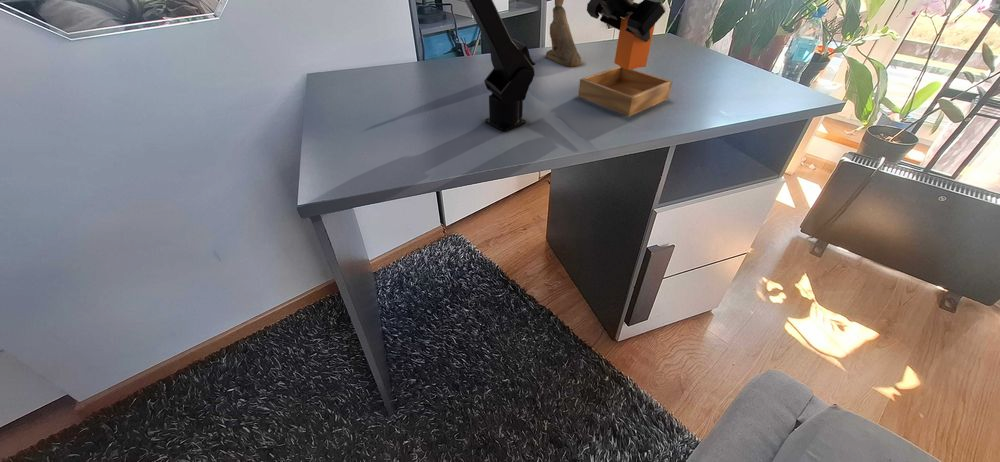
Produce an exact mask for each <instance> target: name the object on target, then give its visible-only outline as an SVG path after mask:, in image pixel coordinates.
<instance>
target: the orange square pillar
mask: <svg viewBox="0 0 1000 462" xmlns="http://www.w3.org/2000/svg"><path fill="white" fill-rule="evenodd" d="M629 17H630V16H629V15H628V17H627V18H626V19H623V18H622V19H621V25H620V30H618V31H619V32H618V37H617V43H616V50H615V57H614V62H613V63H614V64H615V65H617V66H621V67H623V68H625V69H627V70H630V69H634V70H636V69H641V68H646V67H647V63H648V59H649V55H650V49H651V45H652V41H653V37H654V36H653V35H654V31H655V27H656V26H655V25H656V23H655V24H654V26H653V27H652V28H651V29H650V39H649V40H648V41H647V42H645V41H643V40H642V39H640V38H638V37H636V36H634V35H632V34H631V33H629V32H627V31H625V30H626V29H627V27H628V26H627V23H628V18H629Z"/></svg>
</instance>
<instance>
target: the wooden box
mask: <svg viewBox="0 0 1000 462" xmlns="http://www.w3.org/2000/svg"><path fill="white" fill-rule="evenodd" d="M578 86H579V87H578V98H581V99H584V100H586V101H589V102H591V103H594V104H597V105H598V106H602V107H604V108H606V109H608V110H612V111H614V112H616V113H619V114H622V115H624V116H627V117H631V116H633V115H635V114H637V113H640V112H642V111H644V110H646V109H649V108H651V107H654V106H656V105H658V104H660V103H662V102H665V101H668V100H669V97H670V93H671V90H672V86H673V81H672V80H669V79H666V78H663V77H659V76H656V75H653V74H649V73H647V72H643V71H640V70H637V69H630V70H627V69H625V68H623V67H621V66H619V65H617V66H615V67H612V68H608V69H606V70H602V71H601V72H597V73H594V74H591V75H588V76H585V77H581V78H580V79H579V85H578Z"/></svg>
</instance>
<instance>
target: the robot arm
mask: <svg viewBox="0 0 1000 462" xmlns="http://www.w3.org/2000/svg"><path fill="white" fill-rule="evenodd" d="M464 2H465V4H466V6H467V8H468V9H469V11H470V13H471V15H472V17H473V19H474V21H475V23H476V24H477V26H478V28H479V31H480V32H481V35H482V36H483V38H484V40H485V42H486V44H487V46H488V48H489V53H490V60H491V65H492V67H493V68H492V70H491V71H490V72H489V74H488V75H487V76H486V77H485V79H484V80H483V82H484V84H485V87H486V90H488V91H490V92H491V94H490V95H488V111H489V112H488V114H489V117H488V118H485V119H484V122H485V123H486V124H488V125H490V126H492V127H494V128H495V129H497V130H499V131H500V132H507V131H509V130H512V129H515V128H517V127H520V126H523V125H526V123H527V120H526V119H524V118H523V110H524V109H523V107H524V105H523V104H524V101H525V100H526V97H527V95H528V91H529V89H530V85H532V82H533V81H534V77H535V75H536V73H535V68H534V66H536V63H535V61H534V60H533V59H532V57H531V55H530V50H529V49H528V46H527V45H525V44H524V43H521V42H520V41H518V40H517V39H514V38H512V37H511V36H510V34H509V31H508V29H507V27H506V25H505V23H504V21H503V19H502V17H501V15H500V13H499V11H498V8H497V7H496V5H495V2H494V1H493V0H464ZM586 12H587V13H588V15H589V16H590V17H591V18H594V19H597V20H599V21H600V22H602V23H604V24H606V25H608V26H610V27H612V28H614V29H616V30H618V31H620V25H621V19H622V18H623V19H626V18H627V17H628V15H629V16H630V17H629V18H628V23H627V26H628V27H627V29H626V30H625V31H627V32H629V33H631V34H632V35H634V36H636V37H638V38H640V39H642V40H643V41H645V42H647V41H648V40H649V39H650V29H651V28H652V27H653V26H654V24H655V25H656V23H657V22H658V21H659V20H660V19H661V18H662V17H663V15H664V14H665V13H666V7H665V5H664V3H663V2H662V1H661V0H642V1H640V2H639V3H638V2H635V0H589V1H588V2H587V4H586ZM600 15H601V17H600ZM654 27H655V26H654Z"/></svg>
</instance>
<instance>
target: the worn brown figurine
mask: <svg viewBox="0 0 1000 462" xmlns="http://www.w3.org/2000/svg"><path fill="white" fill-rule="evenodd" d="M564 1H565V0H554V7H553V8H552V22H551V23H550V24H549V37H550V42H551V49H548V50H547V51H546V54H545V58H547V59H549V60H552V61H554V62H556V63H558V64H560V65H563V66H564V67H568V68H569V67H570V68H571V67H572V68H573V67H578V66H581V65H582V57H581V55H580V54H579V52H578V49H577V47H576V43H575V42H574V38H573V35H572V32H571V29H570V28H571V27H570V24H569V22H568V17H567V12H566V10H565V7H564V6H563V4H564Z"/></svg>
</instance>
